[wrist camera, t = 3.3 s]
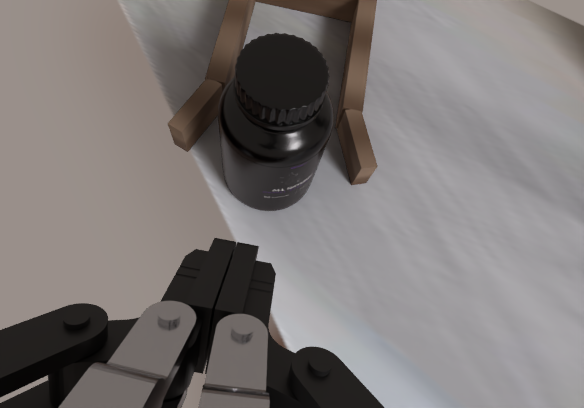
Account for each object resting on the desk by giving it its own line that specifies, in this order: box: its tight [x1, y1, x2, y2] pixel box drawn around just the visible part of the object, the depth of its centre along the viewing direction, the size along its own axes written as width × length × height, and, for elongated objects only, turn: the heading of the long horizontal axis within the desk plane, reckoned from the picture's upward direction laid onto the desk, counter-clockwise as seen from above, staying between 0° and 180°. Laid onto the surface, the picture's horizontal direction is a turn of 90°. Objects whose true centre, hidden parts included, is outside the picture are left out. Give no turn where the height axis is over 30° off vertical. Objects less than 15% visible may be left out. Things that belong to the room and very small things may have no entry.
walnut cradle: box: [168, 0, 377, 185], centre depth 31 cm, size 18×15×8 cm
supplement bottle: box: [218, 33, 334, 211], centre depth 26 cm, size 7×7×12 cm
